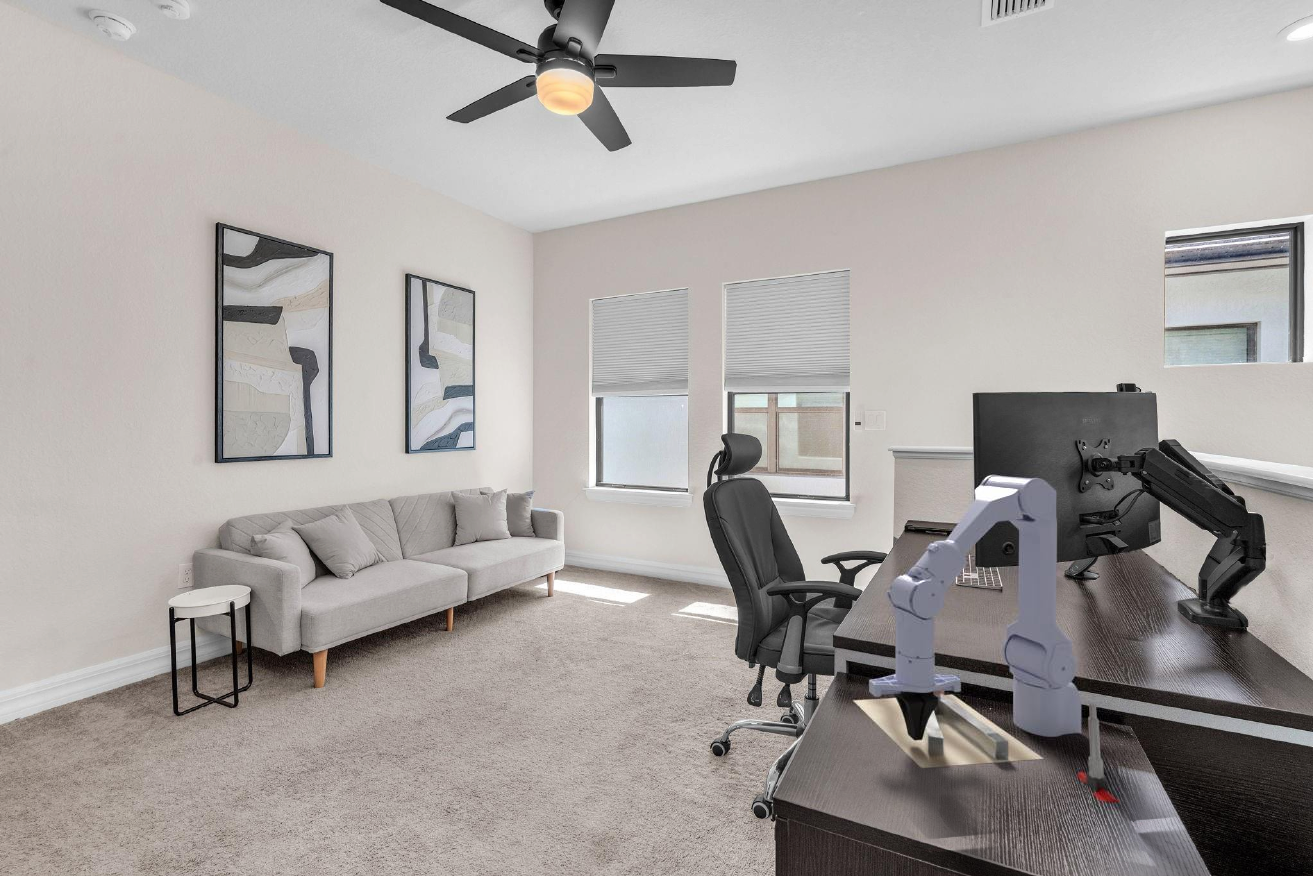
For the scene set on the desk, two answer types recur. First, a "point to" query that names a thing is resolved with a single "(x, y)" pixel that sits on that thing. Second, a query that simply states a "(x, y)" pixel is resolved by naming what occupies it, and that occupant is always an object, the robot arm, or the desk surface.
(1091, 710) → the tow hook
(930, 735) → the bar
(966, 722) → the tong base
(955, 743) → the board
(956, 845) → the desk surface
